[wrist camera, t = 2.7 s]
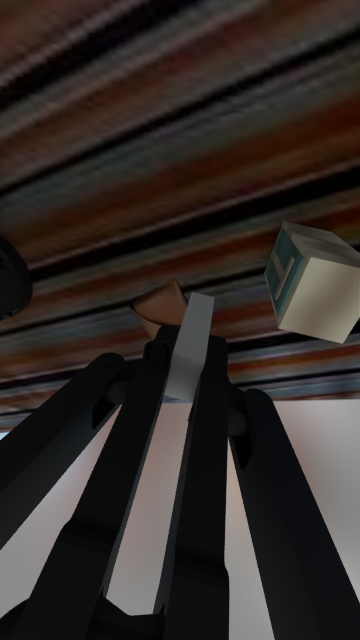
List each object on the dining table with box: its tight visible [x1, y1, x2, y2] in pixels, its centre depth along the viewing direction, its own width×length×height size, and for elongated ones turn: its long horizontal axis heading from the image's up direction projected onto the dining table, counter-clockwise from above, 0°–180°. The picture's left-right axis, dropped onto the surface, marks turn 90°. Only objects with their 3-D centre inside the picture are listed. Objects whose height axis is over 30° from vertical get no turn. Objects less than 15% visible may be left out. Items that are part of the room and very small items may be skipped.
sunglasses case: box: [129, 280, 228, 363], centre depth 44 cm, size 18×7×7 cm
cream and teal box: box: [264, 221, 360, 344], centre depth 30 cm, size 6×7×14 cm
